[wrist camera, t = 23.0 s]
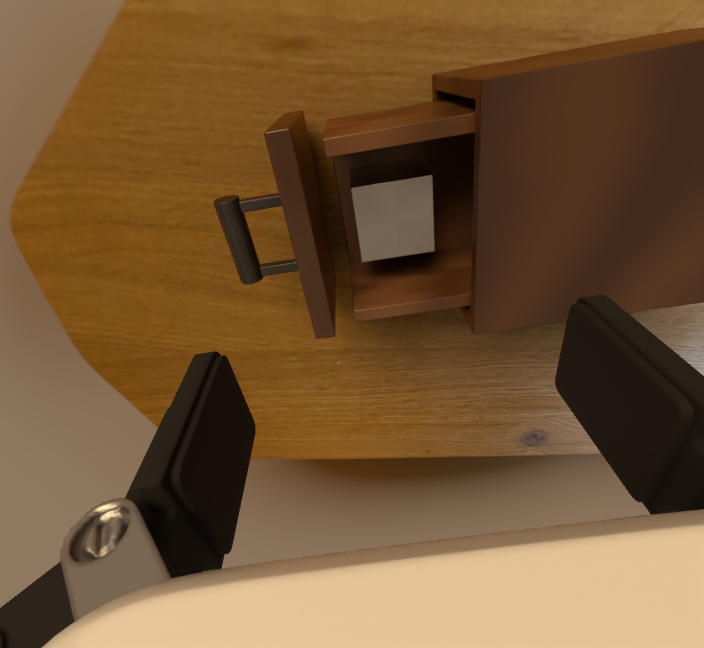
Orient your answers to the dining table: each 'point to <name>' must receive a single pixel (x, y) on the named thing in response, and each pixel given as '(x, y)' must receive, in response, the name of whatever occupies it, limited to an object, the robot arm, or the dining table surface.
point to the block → (393, 209)
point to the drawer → (309, 225)
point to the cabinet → (586, 179)
